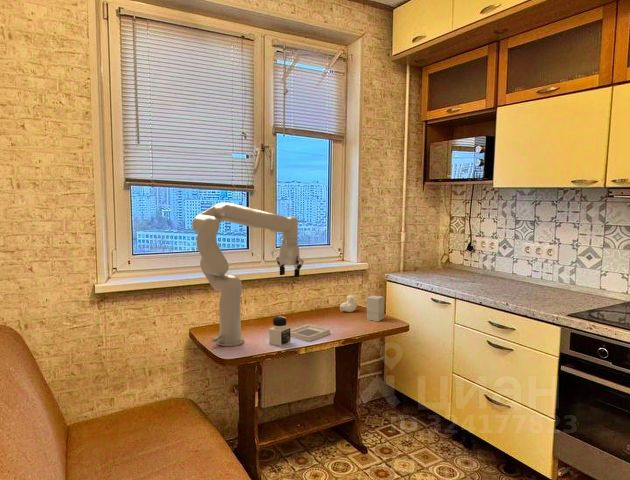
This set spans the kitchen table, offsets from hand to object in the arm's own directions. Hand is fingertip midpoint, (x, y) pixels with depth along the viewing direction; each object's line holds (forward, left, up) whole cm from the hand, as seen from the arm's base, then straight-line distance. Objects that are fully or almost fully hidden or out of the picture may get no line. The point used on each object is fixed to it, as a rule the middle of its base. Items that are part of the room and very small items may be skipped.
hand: (289, 276), depth 217 cm
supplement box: (+45, -22, -28) cm, 58 cm away
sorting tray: (0, -12, -28) cm, 30 cm away
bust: (+50, -1, -28) cm, 58 cm away
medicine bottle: (-18, -10, -28) cm, 35 cm away
